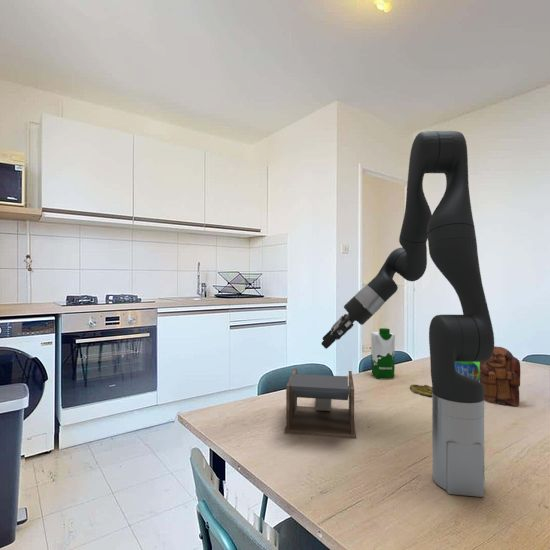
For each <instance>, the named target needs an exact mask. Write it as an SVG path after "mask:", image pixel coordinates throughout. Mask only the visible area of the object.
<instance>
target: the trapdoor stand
mask: <svg viewBox="0 0 550 550" xmlns="http://www.w3.org/2000/svg"><path fill="white" fill-rule="evenodd" d="M291 374H298V368H297V367H296V368H294V369H293V371H292V373H291ZM290 381H291V376H290V377H289V379H288V381H287V383H286V387H285V388H286V389H285V391H286V393H285V394H286V396H285V397H286V398H285V399H286V402H285V403H286V405H285V409H286V410H285V413H286V414H285V417H286V418H285V420H286V421H285V422H286V423H285V428H284V434H293V435H306V436H317V437H318V436H320V437H329V438H330V437H333V438H344V439H345V438H347V439H357V429H356V423H355V386H354V379H353V372H352V370H348V386H349V396H348V408H338V407H337V408H336V407H334V408H333V407H331V411H322V410H315V406H304V405H298V397H297V396H296V395H295V393H294V391H293V389H292V388H291V386H290Z"/></svg>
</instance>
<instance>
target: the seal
mask: <svg viewBox="0 0 550 550" xmlns="http://www.w3.org/2000/svg"><path fill="white" fill-rule="evenodd" d="M409 389H410V391H411V392H412V393H413V392H414V393H413V394H417V395H418V394H419V395H418V396H421V397H427V398H431V399H432V386H430V385H427V384H423V385H419V384H411V385H410V386H409Z"/></svg>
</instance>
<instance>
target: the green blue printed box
mask: <svg viewBox="0 0 550 550" xmlns="http://www.w3.org/2000/svg"><path fill="white" fill-rule="evenodd" d="M455 369H456V372H458V373H459V374H461V375H464V376H466V377H469V378H472V379H475V380H477V381H479V382H480V372H481V371H480V362H458V361H455Z"/></svg>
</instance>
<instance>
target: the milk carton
mask: <svg viewBox="0 0 550 550" xmlns="http://www.w3.org/2000/svg"><path fill="white" fill-rule="evenodd" d="M390 331H391V330H390V328H387V327H386V328H385V327H384V328H379V329H378V331H371V332H370V341H371V345H370V346H371V347H370V348H371V360H370V361H371V362H370V363H371V375H372V374H373V375H374V376H375V377H374V376H373V375H372V376H373V377H374V378H376V379H378V380H381V379H380V378H394V379H395V368H396V367H395V364H396V363H395V362H396V361H395V356H396V355H395V344H396V343H395V338H396V335H395V334H394V333H392V332H390Z"/></svg>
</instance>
